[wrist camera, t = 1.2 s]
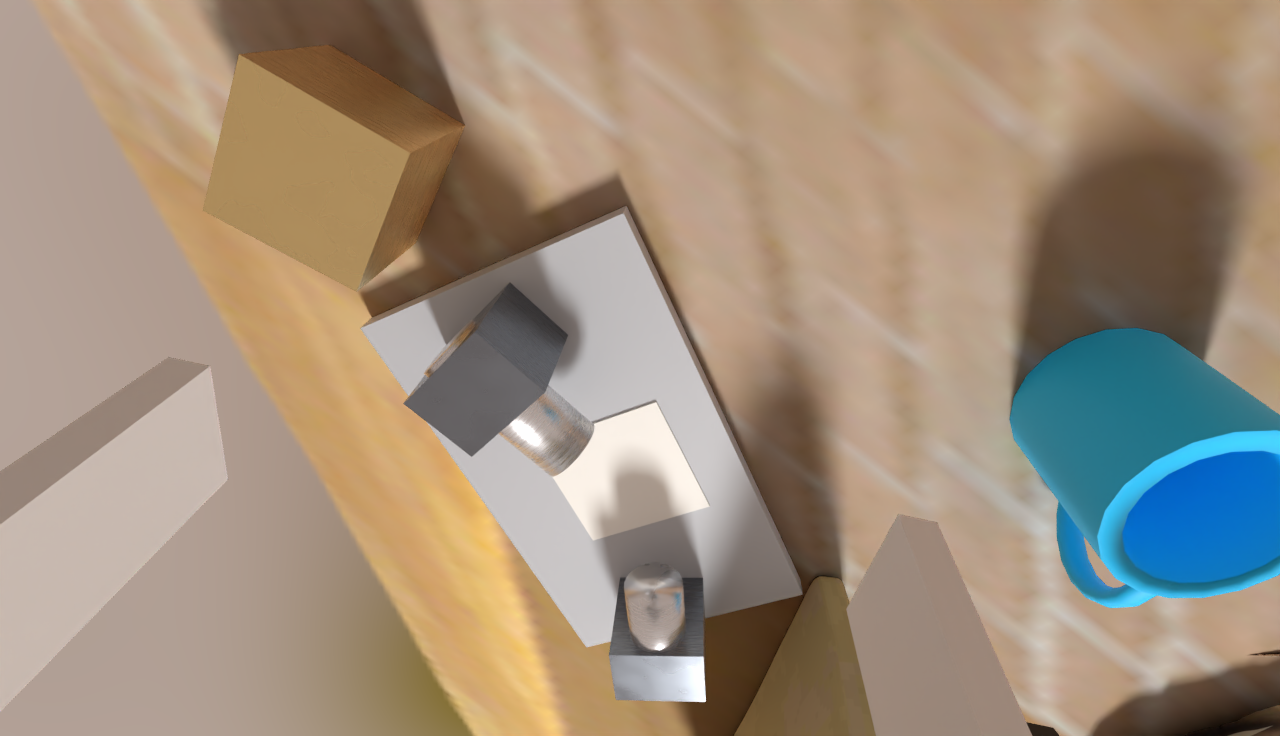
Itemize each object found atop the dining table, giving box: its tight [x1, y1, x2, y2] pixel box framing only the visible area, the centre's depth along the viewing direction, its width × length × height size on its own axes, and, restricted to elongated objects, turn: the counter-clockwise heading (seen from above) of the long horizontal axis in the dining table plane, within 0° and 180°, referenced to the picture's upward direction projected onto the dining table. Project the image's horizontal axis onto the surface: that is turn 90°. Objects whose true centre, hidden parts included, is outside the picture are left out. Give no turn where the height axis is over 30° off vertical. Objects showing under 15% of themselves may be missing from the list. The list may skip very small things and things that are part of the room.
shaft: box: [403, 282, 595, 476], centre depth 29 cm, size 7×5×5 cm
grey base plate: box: [360, 206, 803, 647], centre depth 35 cm, size 24×14×1 cm, turn 25°
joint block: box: [203, 45, 465, 292], centre depth 26 cm, size 6×6×6 cm
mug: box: [1010, 328, 1280, 608], centre depth 29 cm, size 12×8×8 cm
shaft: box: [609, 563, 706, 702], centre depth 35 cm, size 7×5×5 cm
